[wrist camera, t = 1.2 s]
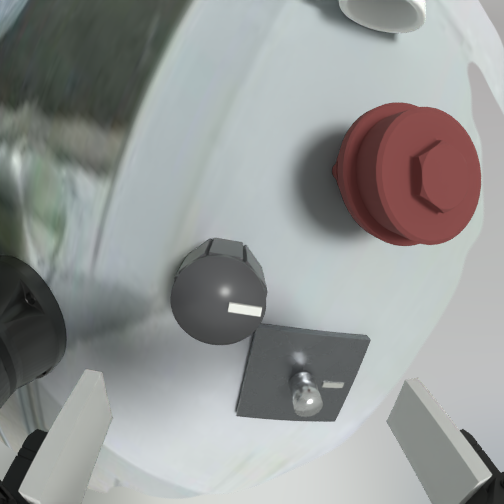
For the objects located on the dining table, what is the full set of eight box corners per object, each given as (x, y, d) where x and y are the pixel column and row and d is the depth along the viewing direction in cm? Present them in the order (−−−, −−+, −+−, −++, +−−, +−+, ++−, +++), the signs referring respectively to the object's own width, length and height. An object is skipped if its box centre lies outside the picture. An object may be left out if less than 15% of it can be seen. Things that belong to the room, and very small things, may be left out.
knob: (180, 305, 29) (166, 337, 22) (189, 233, 27) (175, 250, 21) (252, 317, 29) (256, 352, 23) (267, 246, 27) (275, 268, 21)
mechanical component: (376, 101, 24) (425, 190, 27) (291, 153, 25) (349, 246, 28) (456, 67, 12) (514, 208, 15) (334, 138, 14) (416, 296, 16)
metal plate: (236, 410, 32) (236, 441, 27) (256, 322, 29) (260, 350, 24) (332, 416, 33) (342, 444, 28) (367, 335, 30) (385, 360, 25)
